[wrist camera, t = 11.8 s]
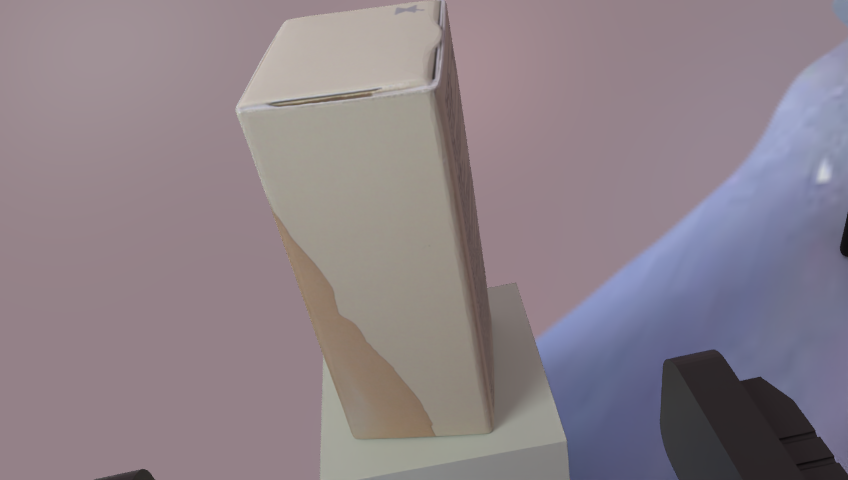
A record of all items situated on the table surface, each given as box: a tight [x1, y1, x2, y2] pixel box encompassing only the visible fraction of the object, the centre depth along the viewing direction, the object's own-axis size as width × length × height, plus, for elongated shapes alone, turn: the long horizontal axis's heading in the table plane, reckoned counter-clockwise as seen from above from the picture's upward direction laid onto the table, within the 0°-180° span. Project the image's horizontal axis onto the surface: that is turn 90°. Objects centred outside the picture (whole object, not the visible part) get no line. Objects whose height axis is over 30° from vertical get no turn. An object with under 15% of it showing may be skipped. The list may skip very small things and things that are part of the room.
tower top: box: [320, 283, 570, 480], centre depth 24 cm, size 7×7×5 cm
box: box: [235, 0, 495, 439], centre depth 19 cm, size 5×4×11 cm
